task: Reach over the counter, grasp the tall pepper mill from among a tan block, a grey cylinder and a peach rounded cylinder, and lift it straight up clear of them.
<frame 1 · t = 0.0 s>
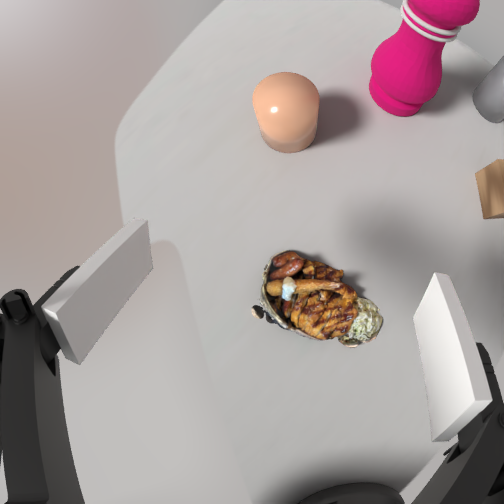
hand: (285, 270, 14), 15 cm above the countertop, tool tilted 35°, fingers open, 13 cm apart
brown lumpy mound: (321, 301, 29), on the countertop
peach rounded cylinder: (288, 128, 30), on the countertop
pepper mill: (395, 94, 29), on the countertop
grey cylinder: (488, 105, 27), on the countertop
tan block: (495, 195, 26), on the countertop
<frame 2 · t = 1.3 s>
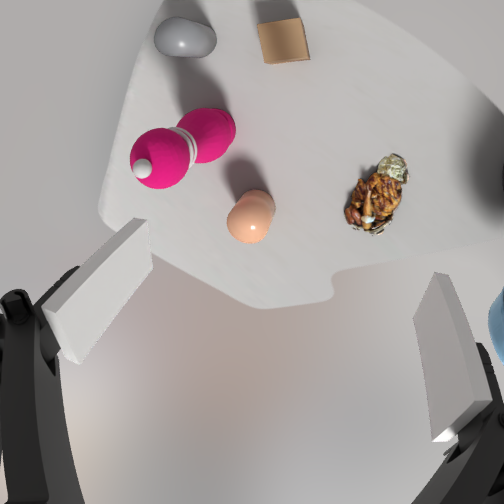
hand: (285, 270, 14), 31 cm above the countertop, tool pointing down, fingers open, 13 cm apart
brown lumpy mound: (377, 191, 41), on the countertop
peach rounded cylinder: (257, 207, 47), on the countertop
pepper mill: (215, 129, 42), on the countertop
grey cylinder: (199, 41, 35), on the countertop
tan block: (287, 44, 33), on the countertop
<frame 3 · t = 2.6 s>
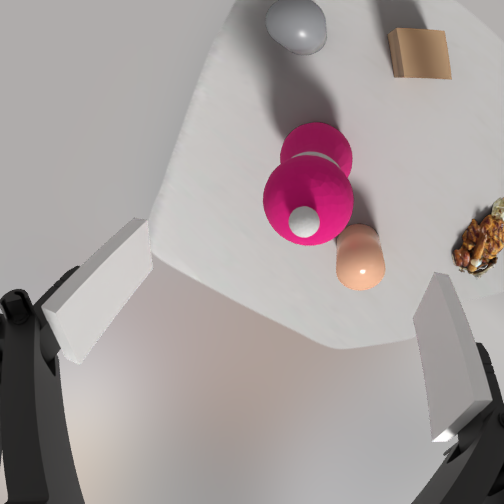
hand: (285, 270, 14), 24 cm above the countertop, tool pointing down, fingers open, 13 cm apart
brown lumpy mound: (483, 232, 33), on the countertop
peach rounded cylinder: (358, 243, 38), on the countertop
pepper mill: (318, 148, 34), on the countertop
grey cylinder: (303, 34, 27), on the countertop
tan block: (412, 56, 25), on the countertop
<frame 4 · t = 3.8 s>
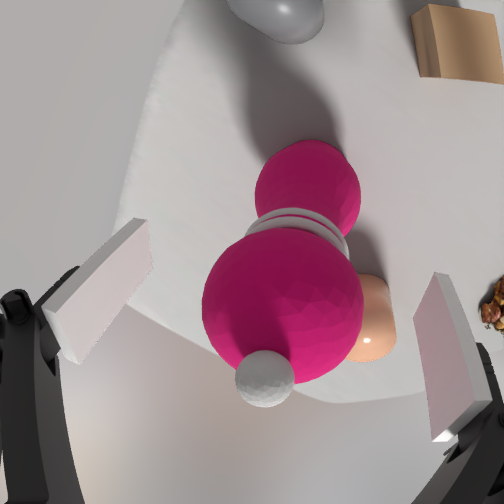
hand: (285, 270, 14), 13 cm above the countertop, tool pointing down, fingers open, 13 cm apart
peach rounded cylinder: (362, 297, 30), on the countertop
pepper mill: (312, 176, 25), on the countertop
grey cylinder: (290, 15, 18), on the countertop
tan block: (444, 48, 16), on the countertop
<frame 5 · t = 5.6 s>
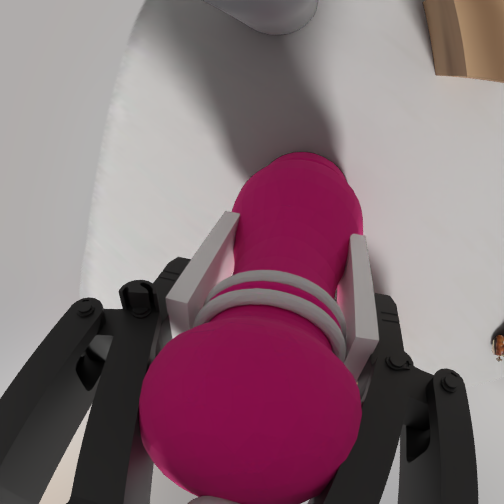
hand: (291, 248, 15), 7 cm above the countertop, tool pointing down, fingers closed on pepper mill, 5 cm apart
pepper mill: (303, 195, 21), on the countertop, touching gripper
tan block: (463, 41, 12), on the countertop
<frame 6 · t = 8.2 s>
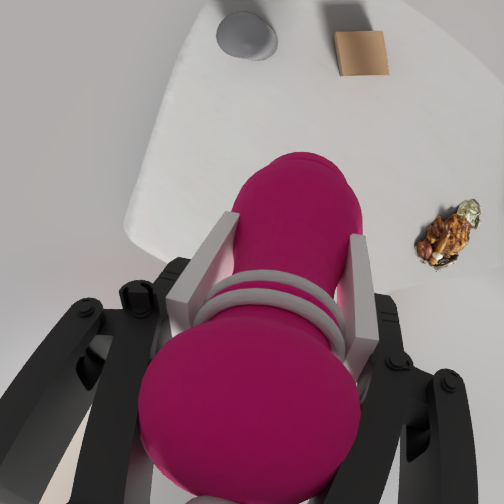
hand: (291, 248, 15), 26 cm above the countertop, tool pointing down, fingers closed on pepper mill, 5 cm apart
brown lumpy mound: (447, 229, 39), on the countertop
pepper mill: (303, 195, 21), point 19 cm above the countertop, touching gripper
grey cylinder: (257, 42, 31), on the countertop
tan block: (357, 55, 30), on the countertop
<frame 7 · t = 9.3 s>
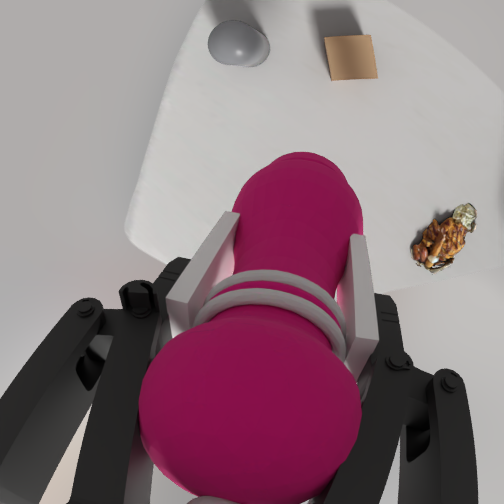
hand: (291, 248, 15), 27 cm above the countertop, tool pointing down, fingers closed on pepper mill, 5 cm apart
brown lumpy mound: (443, 233, 40), on the countertop
pepper mill: (303, 195, 21), point 20 cm above the countertop, touching gripper
grey cylinder: (249, 48, 33), on the countertop
tan block: (348, 59, 31), on the countertop
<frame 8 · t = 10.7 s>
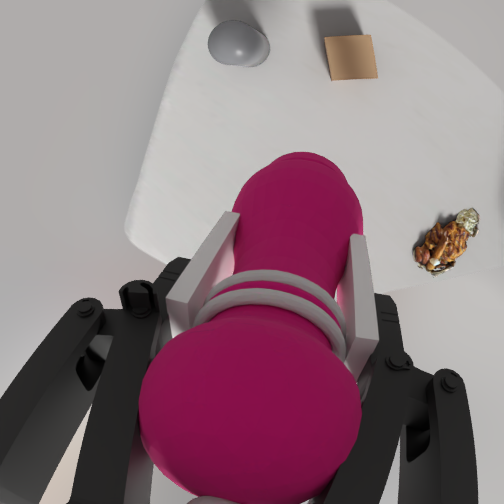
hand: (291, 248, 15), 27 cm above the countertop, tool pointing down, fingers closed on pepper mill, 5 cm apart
brown lumpy mound: (446, 236, 40), on the countertop
pepper mill: (303, 195, 21), point 20 cm above the countertop, touching gripper
grey cylinder: (249, 48, 33), on the countertop
tan block: (348, 59, 31), on the countertop
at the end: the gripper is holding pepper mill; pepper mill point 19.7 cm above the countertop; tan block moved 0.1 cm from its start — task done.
